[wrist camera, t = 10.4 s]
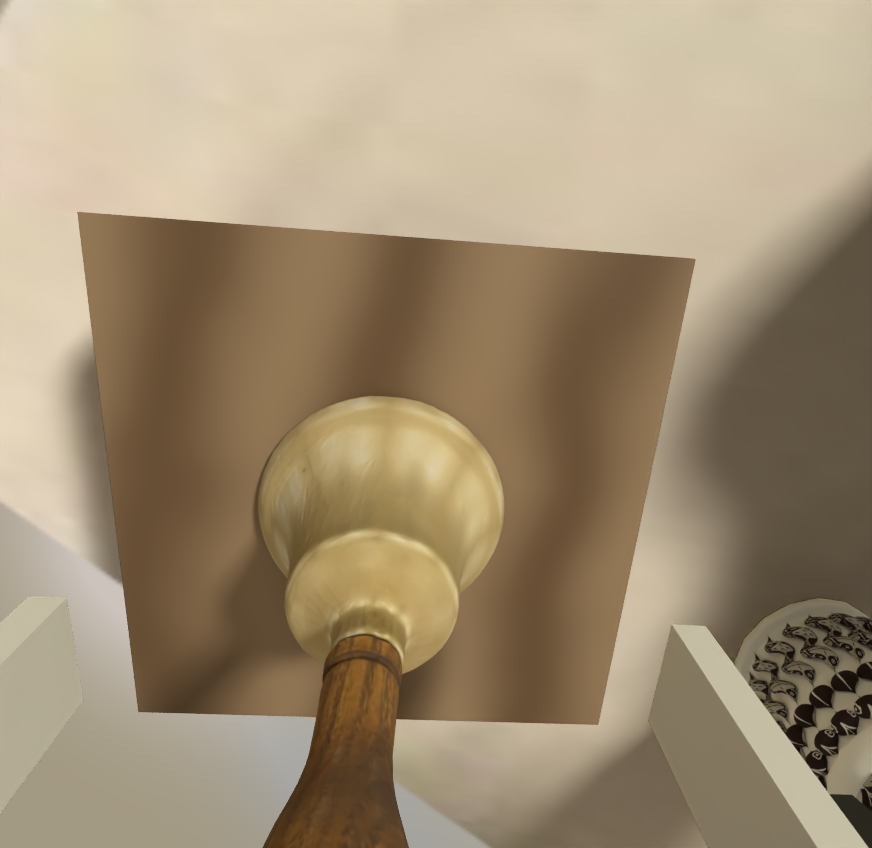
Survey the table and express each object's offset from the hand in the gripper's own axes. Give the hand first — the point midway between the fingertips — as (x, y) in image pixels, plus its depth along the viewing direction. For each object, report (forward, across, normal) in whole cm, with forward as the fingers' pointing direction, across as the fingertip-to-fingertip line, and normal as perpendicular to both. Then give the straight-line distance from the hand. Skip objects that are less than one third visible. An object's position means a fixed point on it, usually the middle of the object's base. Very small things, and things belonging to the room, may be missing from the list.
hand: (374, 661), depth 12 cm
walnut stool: (+16, 0, 0) cm, 16 cm away
